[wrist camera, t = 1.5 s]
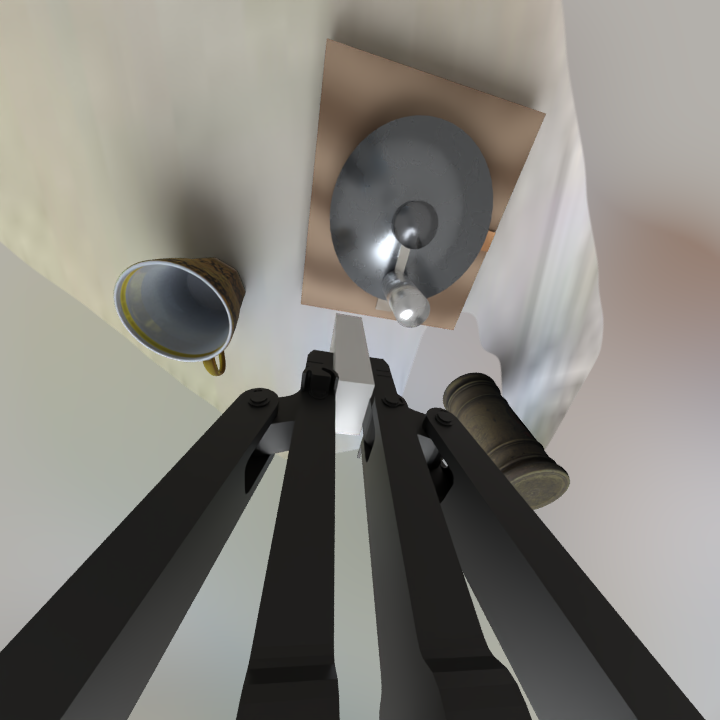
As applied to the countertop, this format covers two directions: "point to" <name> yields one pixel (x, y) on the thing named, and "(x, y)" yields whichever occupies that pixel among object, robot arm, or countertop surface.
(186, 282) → the ceramic cup
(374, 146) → the dial
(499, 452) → the container
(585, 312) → the countertop surface
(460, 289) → the stand
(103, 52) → the countertop surface
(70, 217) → the countertop surface
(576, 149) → the countertop surface
